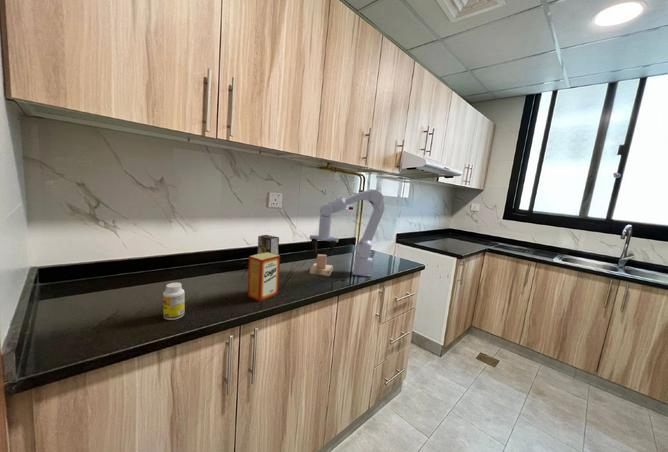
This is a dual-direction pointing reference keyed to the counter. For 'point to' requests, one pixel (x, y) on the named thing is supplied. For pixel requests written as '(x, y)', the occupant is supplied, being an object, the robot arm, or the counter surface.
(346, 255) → the counter surface
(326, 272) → the oak block
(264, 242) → the grey tall block
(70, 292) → the counter surface
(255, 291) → the baking soda box
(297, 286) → the counter surface
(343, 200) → the robot arm
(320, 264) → the pinkish brown block
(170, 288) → the supplement bottle
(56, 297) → the counter surface
